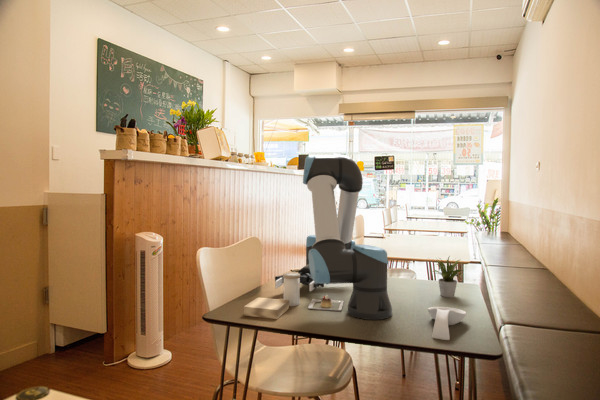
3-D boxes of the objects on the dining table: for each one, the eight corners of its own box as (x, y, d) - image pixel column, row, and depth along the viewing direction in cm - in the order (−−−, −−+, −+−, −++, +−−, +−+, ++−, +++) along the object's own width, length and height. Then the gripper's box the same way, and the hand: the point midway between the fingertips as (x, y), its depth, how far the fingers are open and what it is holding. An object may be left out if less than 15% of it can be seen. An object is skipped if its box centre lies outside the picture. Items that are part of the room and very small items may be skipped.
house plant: (426, 299, 158) (427, 257, 158) (424, 290, 172) (425, 252, 171) (465, 301, 155) (466, 259, 154) (460, 292, 168) (461, 253, 168)
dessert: (312, 301, 155) (312, 289, 155) (343, 303, 153) (344, 290, 153) (307, 311, 143) (307, 297, 143) (341, 313, 141) (341, 299, 141)
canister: (302, 302, 152) (302, 273, 152) (297, 307, 146) (297, 276, 146) (286, 300, 154) (286, 272, 154) (280, 305, 148) (280, 275, 148)
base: (288, 308, 144) (289, 300, 144) (277, 319, 133) (277, 310, 133) (257, 305, 148) (257, 297, 147) (243, 315, 136) (243, 306, 136)
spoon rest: (429, 314, 140) (430, 293, 140) (466, 319, 135) (466, 297, 135) (420, 337, 118) (421, 313, 118) (463, 344, 113) (464, 319, 113)
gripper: (336, 285, 170) (325, 299, 149) (280, 281, 177) (262, 293, 157) (337, 267, 169) (325, 278, 149) (280, 264, 177) (262, 273, 156)
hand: (292, 286), depth 153 cm, fingers open, 13 cm apart
